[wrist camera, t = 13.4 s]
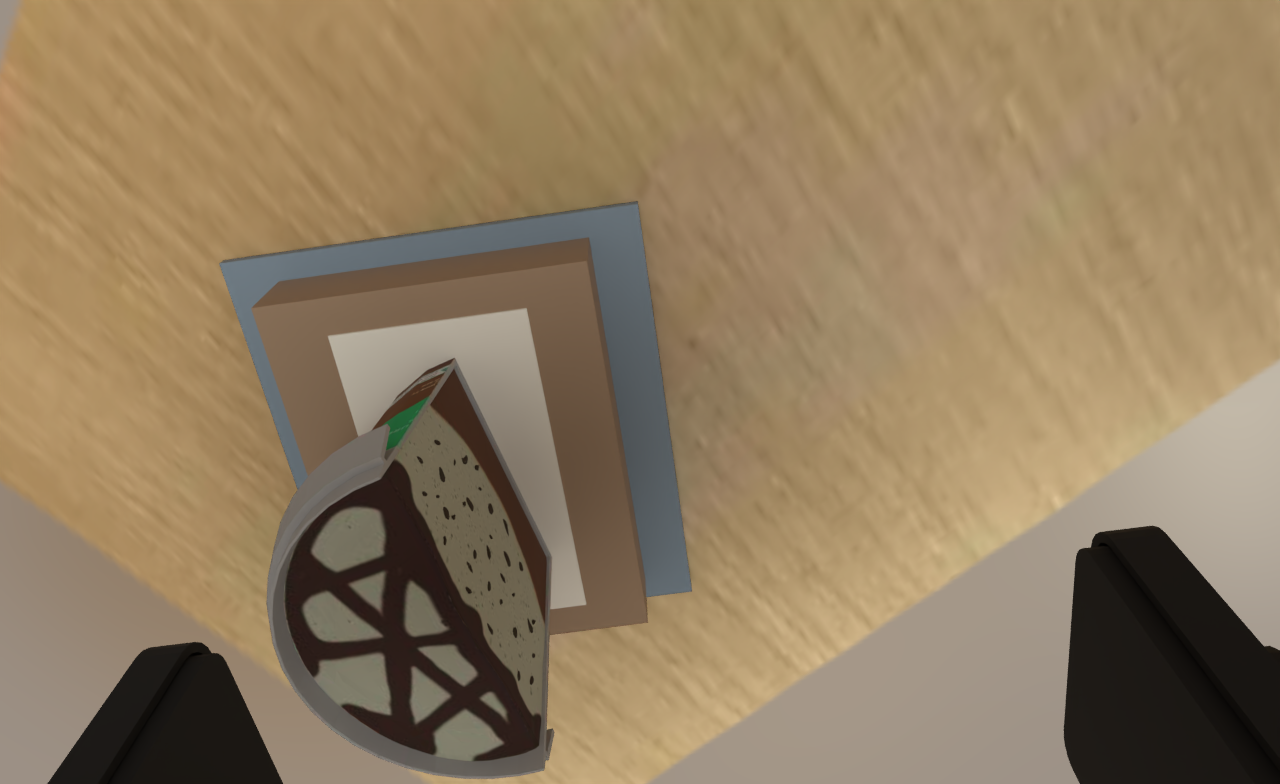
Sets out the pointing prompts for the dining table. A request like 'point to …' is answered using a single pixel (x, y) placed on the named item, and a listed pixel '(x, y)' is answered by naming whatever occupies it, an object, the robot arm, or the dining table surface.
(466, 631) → the food container
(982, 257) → the dining table surface
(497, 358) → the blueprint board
